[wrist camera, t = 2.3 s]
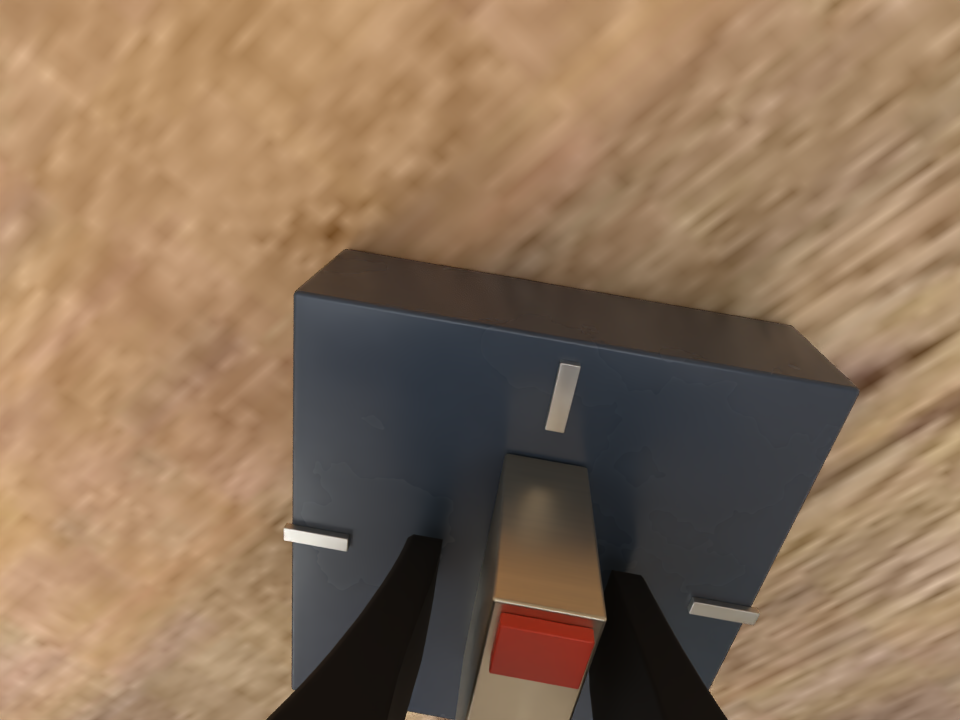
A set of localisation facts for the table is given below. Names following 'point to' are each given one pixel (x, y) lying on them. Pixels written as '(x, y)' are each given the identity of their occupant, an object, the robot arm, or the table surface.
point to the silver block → (534, 598)
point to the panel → (541, 445)
